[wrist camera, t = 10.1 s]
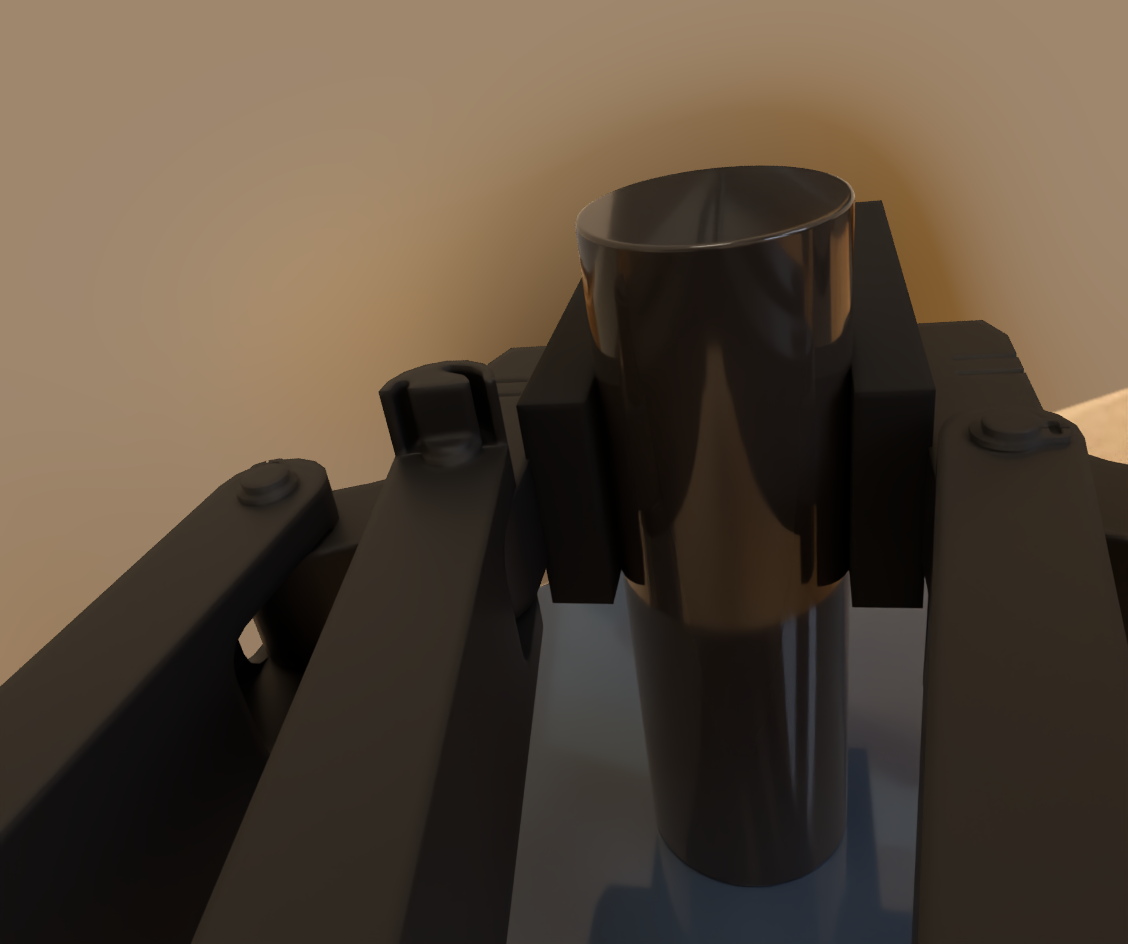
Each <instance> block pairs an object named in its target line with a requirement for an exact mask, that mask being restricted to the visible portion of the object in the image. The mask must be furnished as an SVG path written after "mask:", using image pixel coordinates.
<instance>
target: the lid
mask: <svg viewBox="0 0 1128 944" xmlns="http://www.w3.org/2000/svg"><path fill="white" fill-rule="evenodd" d="M575 229H576V236H577V243H578V251H579V258H580V265H581V273H582V280H583V287H584V295H585V302H586V309H587V317H588V324H589V332H590V339H591V346H592V354H593V361H594V368H595V375H596V383H597V390H598V397H599V405H600V412H601V419H602V427H603V434H604V442H605V449H606V456H607V464H608V471H609V478H610V486H611V493H612V500H613V508H614V515H615V522H616V530H617V537H618V544H619V552H620V559H621V566H622V570H621V575H620V579H619V583H618V587H617V591H616V595H615V600H614V604H573V603H553V602H552V597H551V591H550V586H549V584H546V585H544V586H541V587H539V590H538V593H537V594H538V600H539V605H540V610H541V615H542V620H543V635H542V643H541V652H540V660H539V669H538V678H537V686H536V695H535V703H534V712H533V720H532V729H531V738H530V746H529V755H528V763H527V772H526V781H525V789H524V798H523V806H522V815H521V823H520V832H519V841H518V849H517V858H516V866H515V875H514V884H513V892H512V901H511V909H510V918H509V927H508V935H507V944H911V940H912V919H913V897H914V876H915V854H916V833H917V811H918V790H919V768H920V747H921V725H922V704H923V686H922V685H923V669H924V653H925V637H926V622H927V606H928V590H927V585H926V580H925V581H924V597H923V608H861V607H852V599H851V587H850V576H849V524H850V434H851V362H852V358H853V314H854V235H855V194H854V192H853V189H852V187H851V186H850V185H849V184H848V183H847V182H846V181H845V180H843V179H841V178H839V177H837V176H834V175H831V174H828V173H824V172H820V171H816V170H810V169H804V168H796V167H786V166H736V167H724V168H723V167H722V168H712V169H704V170H696V171H689V172H683V173H678V174H672V175H667V176H662V177H658V178H654V179H650V180H646V181H642V182H638V183H635V184H632V185H629V186H626V187H623V188H620V189H618V190H615V191H613V192H610V193H608V194H606V195H604V196H602V197H600V198H598V199H596V200H594V201H593V202H591V203H590V204H588V205H587V206H586V207H585V208H583V209H582V210H581V211H580V213H579V214H578V216H577V220H576V223H575Z"/></svg>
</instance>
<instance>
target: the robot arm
mask: <svg viewBox="0 0 1128 944" xmlns="http://www.w3.org/2000/svg"><path fill="white" fill-rule="evenodd" d="M379 395H380V399H381V403H382V407H383V411H384V414H385V418H386V422H387V426H388V429H389V433H390V437H391V441H392V444H393V448H394V452H395V459H394V461H393V463H392V466H391V468H390V471H389V473H388V475H387V478H386V479H385V480H381V481H377V482H373V483H369V484H364V485H359V486H354V487H349V488H344V489H339V490H334V491H332V489H331V486H330V483H329V480H328V476H327V474H326V470H325V468H324V467H323V466H321V465H320V464H318V463H317V462H315V461H311V460H305V459H299V458H298V459H284V460H283V459H275V460H269V463H266V461H265V462H262V463H258V464H255V465H253V466H252V467H251V468H250V469H248V470H245V471H243V472H241V473H239V474H236V475H235V476H234V477H232V478H231V479H229V480H228V481H227V482H225V483H224V484H222V485H221V486H219V487H218V488H217V489H216V490H215V491H214V492H213V493H212V494H211V495H210V496H209V497H207V498H206V499H205V500H204V501H203V502H202V503H201V504H200V505H199V506H198V507H197V508H196V509H194V510H193V511H192V512H191V513H190V514H189V515H188V516H187V517H186V518H184V519H183V520H182V521H181V522H180V523H179V524H178V525H177V526H176V527H175V528H174V529H172V530H171V531H170V532H169V533H168V534H167V535H166V536H165V537H164V538H163V539H161V540H160V541H159V542H158V543H157V544H156V545H155V546H154V547H153V548H152V549H150V550H149V551H148V552H147V553H146V554H145V555H144V556H143V557H142V558H141V559H140V560H138V561H137V562H136V563H135V564H134V565H133V566H132V567H131V568H130V569H129V570H127V572H125V573H124V574H123V575H122V576H121V577H120V578H119V579H118V580H116V582H114V583H113V584H112V585H111V586H110V587H109V588H108V589H107V590H106V591H104V592H103V593H102V594H101V595H100V596H99V597H98V598H97V599H96V600H95V601H93V602H92V603H91V604H90V605H89V606H88V607H87V608H86V609H85V610H84V611H83V612H82V613H80V614H79V615H78V616H77V617H76V618H75V619H74V620H73V621H72V622H70V624H68V625H67V626H66V627H65V628H64V629H63V630H62V631H61V632H60V633H58V635H56V636H55V637H54V638H53V639H52V640H51V641H50V642H49V643H47V644H46V645H45V646H44V647H43V648H42V649H41V650H40V651H39V652H38V653H37V654H35V656H33V657H32V658H31V659H30V660H29V661H28V662H27V663H26V664H24V665H23V666H22V667H21V668H20V669H19V670H18V671H17V672H16V673H15V674H14V675H12V677H10V678H9V679H8V680H7V681H6V682H5V683H4V684H3V685H1V686H0V944H507V935H508V927H509V918H510V909H511V901H512V892H513V884H514V875H515V866H516V858H517V849H518V841H519V832H520V823H521V815H522V806H523V798H524V789H525V781H526V772H527V763H528V755H529V746H530V738H531V729H532V720H533V712H534V703H535V695H536V686H537V678H538V669H539V660H540V652H541V643H542V635H543V620H542V615H541V610H540V605H539V600H538V594H537V593H538V590H539V587H540V584H541V581H542V578H543V575H544V573H545V570H547V574H548V580H549V586H550V591H551V597H552V602H553V603H573V604H614V600H615V595H616V591H617V587H618V583H619V579H620V575H621V570H622V566H621V559H620V552H619V544H618V537H617V530H616V522H615V515H614V508H613V500H612V493H611V486H610V478H609V471H608V464H607V456H606V449H605V442H604V434H603V427H602V419H601V412H600V405H599V397H598V390H597V383H596V375H595V368H594V361H593V354H592V346H591V339H590V332H589V324H588V317H587V309H586V302H585V295H584V287H583V280H582V278H581V280H580V282H579V284H578V286H577V288H576V290H575V292H574V294H573V296H572V298H571V300H570V302H569V303H568V306H567V308H566V309H565V311H564V313H563V315H562V317H561V319H560V321H559V323H558V325H557V327H556V329H555V331H554V333H553V334H552V337H551V338H550V340H549V342H548V344H547V346H540V347H539V346H538V347H520V348H510V349H509V350H508V351H506V352H505V353H503V354H502V355H500V356H499V357H498V358H496V359H495V360H493V361H492V362H490V363H489V364H488V365H485V364H483V363H478V362H473V361H468V360H465V361H464V360H463V361H443V362H438V363H432V364H427V365H423V366H420V367H417V368H414V369H412V370H409V371H406V372H403V373H402V374H400V375H398V376H396V377H395V378H393V379H391V380H390V381H388V382H387V383H386V384H385V385H384V386H383V387H382V389H381V390H380V391H379ZM849 576H850V587H851V599H852V607H861V608H923V597H924V581H925V580H926V585H927V590H928V606H927V622H926V637H925V653H924V669H923V685H922V686H923V704H922V725H921V747H920V768H919V790H918V811H917V833H916V854H915V876H914V897H913V919H912V940H911V944H1128V465H1127V464H1122V463H1117V462H1112V461H1108V460H1105V459H1101V458H1098V457H1095V456H1092V455H1089V454H1088V451H1087V446H1086V442H1085V438H1084V436H1083V434H1082V433H1081V431H1080V430H1079V428H1078V427H1077V425H1075V424H1074V423H1072V422H1070V421H1069V420H1067V419H1065V418H1063V417H1062V416H1060V415H1058V414H1055V413H1052V412H1048V411H1045V410H1043V408H1042V406H1041V404H1040V402H1039V400H1038V398H1037V396H1036V393H1035V391H1034V389H1033V387H1032V385H1031V383H1030V381H1029V379H1028V377H1027V375H1026V373H1024V368H1023V366H1022V364H1021V362H1020V360H1019V358H1018V357H1016V352H1015V349H1014V347H1013V345H1012V343H1011V341H1010V339H1009V337H1008V335H1006V334H1005V333H1003V332H1002V331H1000V330H998V329H996V328H995V327H993V326H992V325H990V324H988V323H987V322H985V321H983V320H976V321H957V322H939V323H919V324H917V322H916V318H915V315H914V311H913V308H912V304H911V301H910V297H909V294H908V290H907V287H906V283H905V280H904V277H903V273H902V269H901V266H900V263H899V259H898V256H897V252H896V249H895V245H894V242H893V238H892V235H891V231H890V228H889V225H888V221H887V217H886V214H885V210H884V207H883V203H882V201H881V200H880V201H868V202H856V203H855V235H854V314H853V358H852V362H851V434H850V524H849ZM252 618H253V619H254V622H255V624H256V627H257V629H258V632H259V635H260V637H261V640H262V642H263V645H262V646H261V647H260V648H259V649H258V651H257V652H256V653H255V654H254V655H253V656H252V657H251V658H249V659H247V657H246V656H245V655H244V653H243V650H242V648H241V645H240V643H239V641H238V639H239V637H240V635H241V633H242V632H243V630H244V628H245V626H246V625H247V624H248V623H249V622H250V621H251V619H252Z"/></svg>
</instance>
